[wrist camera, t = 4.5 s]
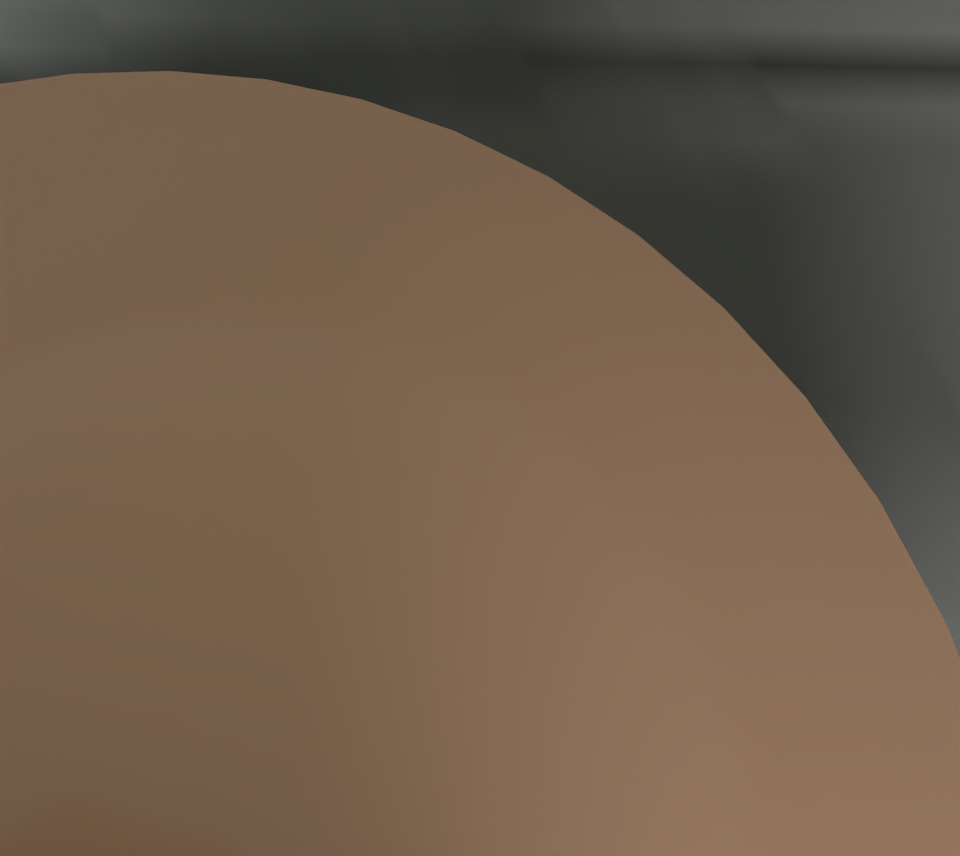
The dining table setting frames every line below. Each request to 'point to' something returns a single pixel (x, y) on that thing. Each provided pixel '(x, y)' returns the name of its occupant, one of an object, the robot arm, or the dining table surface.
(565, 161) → the dining table surface
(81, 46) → the dining table surface
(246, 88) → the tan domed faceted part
